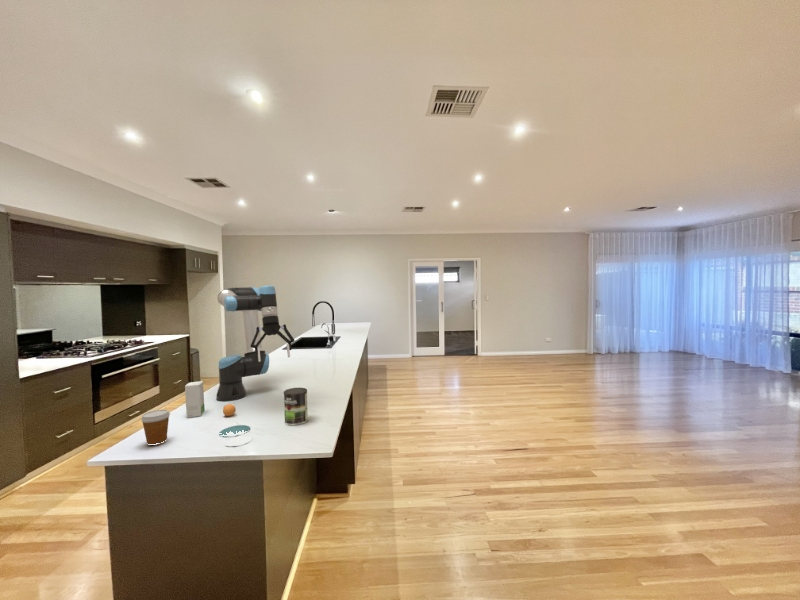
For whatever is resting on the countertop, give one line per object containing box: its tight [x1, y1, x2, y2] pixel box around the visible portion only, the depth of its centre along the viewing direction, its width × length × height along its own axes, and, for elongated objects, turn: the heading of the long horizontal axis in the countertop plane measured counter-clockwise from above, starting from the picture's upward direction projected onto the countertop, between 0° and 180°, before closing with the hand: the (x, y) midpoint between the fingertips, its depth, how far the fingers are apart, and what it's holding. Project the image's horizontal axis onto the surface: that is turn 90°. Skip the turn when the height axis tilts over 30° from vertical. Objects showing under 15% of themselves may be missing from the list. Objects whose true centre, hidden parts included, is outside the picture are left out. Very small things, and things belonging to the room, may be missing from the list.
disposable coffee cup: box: [140, 409, 171, 444], centre depth 136 cm, size 10×10×12 cm
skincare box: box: [184, 380, 206, 419], centre depth 167 cm, size 8×7×16 cm
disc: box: [218, 424, 251, 438], centre depth 146 cm, size 12×12×1 cm
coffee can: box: [283, 387, 309, 426], centre depth 155 cm, size 10×10×14 cm
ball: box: [222, 403, 237, 417], centre depth 165 cm, size 6×6×6 cm
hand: (274, 359), depth 165 cm, fingers open, 13 cm apart
